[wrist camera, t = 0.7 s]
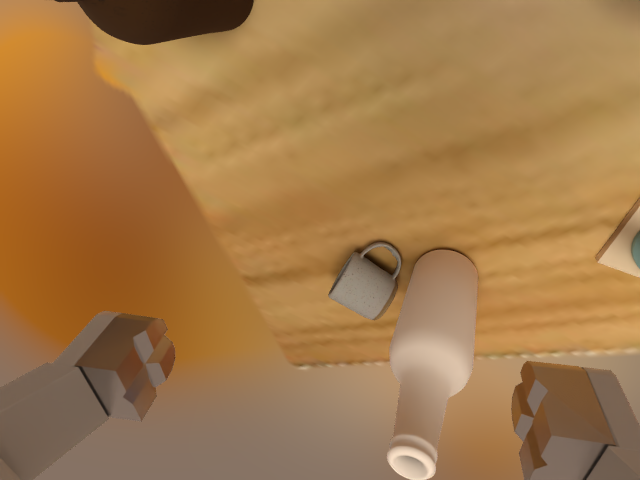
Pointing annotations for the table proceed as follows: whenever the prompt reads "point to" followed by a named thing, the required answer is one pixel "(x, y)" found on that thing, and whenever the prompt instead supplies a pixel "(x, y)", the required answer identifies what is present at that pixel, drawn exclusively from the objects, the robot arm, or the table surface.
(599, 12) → the table surface
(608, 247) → the gear board
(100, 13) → the olive oil
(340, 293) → the ceramic mug
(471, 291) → the alcohol
